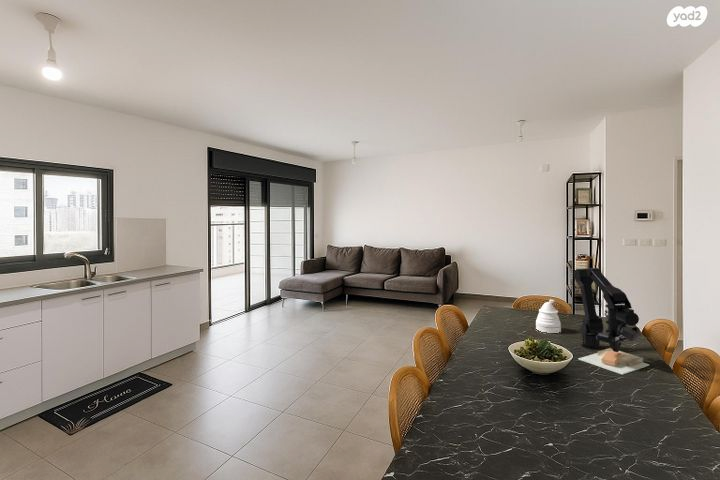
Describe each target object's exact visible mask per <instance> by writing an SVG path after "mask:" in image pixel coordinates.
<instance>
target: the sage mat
mask: <svg viewBox="0 0 720 480" xmlns="http://www.w3.org/2000/svg"><path fill="white" fill-rule="evenodd" d="M577 359H578V360H579V361H582V362H584V363H588V364H591V365H593V366H597V367H599V368H603V369H605V370H608V371H611V372H613V373H616V374H619V375H626V374H628V373H631V372H634V371H637V370H640V369H643V368H645V367H648V366H650V363H646V362H643V363H640V364H637V365H634V366H631V367H630V366H627V365H624V364H621V363H617V364H616V365H615V366H613V365H609V364H605V363H602V357H599V356H598V352H597V353H593V354H589V355H584V356H581V357H579V358H577Z"/></svg>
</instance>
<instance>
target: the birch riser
mask: <svg viewBox="0 0 720 480" xmlns="http://www.w3.org/2000/svg"><path fill="white" fill-rule="evenodd" d="M608 351H613V350H612V348H611V347H609V348H606V349H602V350H598V351H597V353H598V356H599V357H602V358H603V356H604V355H605V354H606V353H607V352H608ZM619 353H622V358H621V359H620V360H619V362H618V363H621V364H624V365H627V366H630V367H631V366H634V365H637V364H640V363H644V358H643V357H642V356H641V357H640V356H638V355H635V354H631V353H627V352H625V351H621V350H619Z"/></svg>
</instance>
